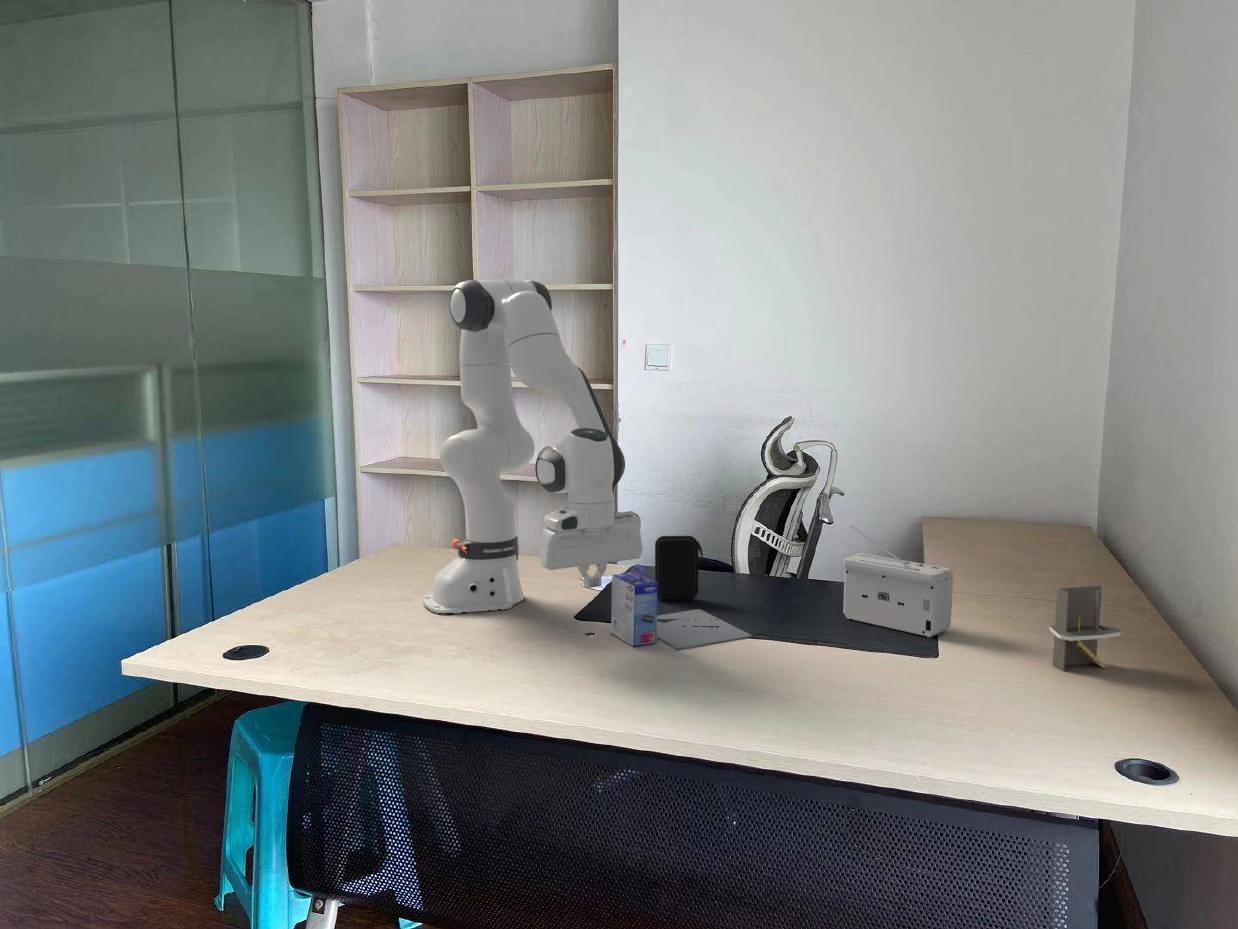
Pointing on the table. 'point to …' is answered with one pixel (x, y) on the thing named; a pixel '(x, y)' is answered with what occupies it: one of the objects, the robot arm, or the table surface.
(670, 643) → the mat
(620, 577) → the ink cartridge box
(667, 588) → the carrying case or bag
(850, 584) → the stereo radio cassette player
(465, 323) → the robot arm
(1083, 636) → the architectural model
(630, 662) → the table surface
